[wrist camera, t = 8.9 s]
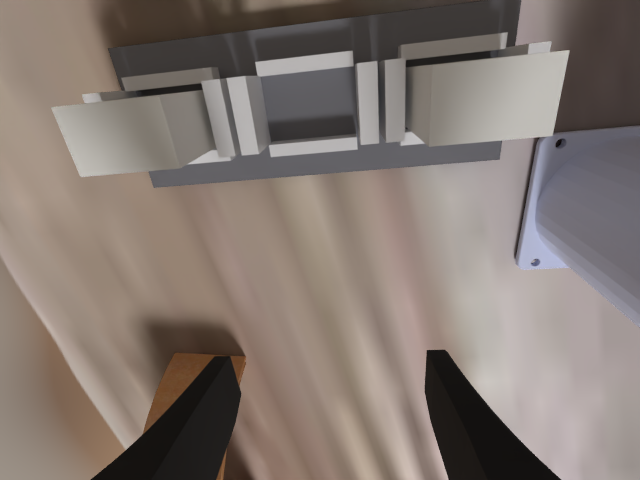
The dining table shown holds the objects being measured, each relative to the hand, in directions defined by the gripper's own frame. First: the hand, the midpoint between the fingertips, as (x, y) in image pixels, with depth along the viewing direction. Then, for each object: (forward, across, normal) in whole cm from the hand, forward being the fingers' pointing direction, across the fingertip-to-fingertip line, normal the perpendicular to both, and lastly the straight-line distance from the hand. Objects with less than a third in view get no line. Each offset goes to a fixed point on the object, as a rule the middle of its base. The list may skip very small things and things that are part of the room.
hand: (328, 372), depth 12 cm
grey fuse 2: (+9, -6, -8) cm, 14 cm away
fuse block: (+10, 0, -8) cm, 13 cm away
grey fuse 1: (+9, +7, -8) cm, 14 cm away
